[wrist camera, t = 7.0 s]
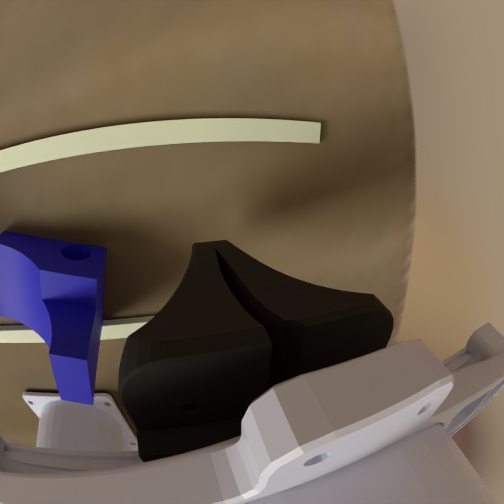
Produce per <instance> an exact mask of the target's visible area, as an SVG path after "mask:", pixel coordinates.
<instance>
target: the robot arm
mask: <svg viewBox="0 0 504 504" xmlns="http://www.w3.org/2000/svg"><path fill="white" fill-rule="evenodd" d="M392 330H393V316H392V314H391V312H390V311H389V310H388V309H387V308H386V307H385V306H384V305H383V304H382V303H381V302H380V301H379V300H378V298H377V297H376V296H375V295H373V294H366V293H357V292H348V291H341V290H336V289H331V288H326V287H322V286H318V285H314V284H311V283H308V282H304V281H301V280H298V279H296V278H293V277H290V276H288V275H286V274H283V273H281V272H278V271H276V270H274V269H272V268H270V267H268V266H267V265H265V264H263V263H261V262H259V261H258V260H256V259H254V258H253V257H251V256H249V255H248V254H246V253H245V252H243V251H242V250H240V249H239V248H237V247H236V246H234V245H233V244H231V243H230V242H228V241H227V240H221V241H211V242H202V243H194V244H193V246H192V255H191V259H190V262H189V265H188V268H187V270H186V273H185V275H184V277H183V279H182V281H181V283H180V285H179V286H178V288H177V290H176V291H175V293H174V294H173V296H172V297H171V298H170V300H169V301H168V302H167V304H166V305H165V306H164V307H163V308H162V309H161V310H160V311H159V312H158V313H157V314H156V315H155V316H154V317H153V318H152V319H151V320H150V321H148V322H147V323H146V324H144V325H143V326H142V327H140V328H139V329H138V330H136V331H135V332H133V333H132V334H130V335H129V336H128V337H127V340H126V343H125V346H124V350H123V354H122V358H121V362H120V368H119V385H118V395H119V398H120V401H121V404H122V405H123V407H124V409H125V411H126V412H127V414H128V416H129V418H130V419H131V421H132V423H133V424H134V426H135V428H136V430H137V438H136V437H135V435H134V433H133V432H132V430H131V429H130V427H129V425H128V424H127V422H126V421H125V419H124V417H123V416H122V414H121V412H120V410H119V409H118V407H117V405H116V403H115V402H114V400H113V398H112V396H111V395H109V394H107V393H94V404H93V405H88V404H82V403H76V402H70V401H64V400H61V398H60V395H59V393H39V392H24V393H23V399H24V400H25V401H26V402H27V404H28V405H29V406H30V407H31V409H32V410H33V411H34V412H35V413H36V415H37V416H38V417H39V418H40V421H39V427H38V435H37V443H36V447H35V446H28V445H22V444H16V443H11V442H6V441H4V439H3V438H2V437H1V436H0V504H497V502H496V501H495V499H494V498H493V496H492V495H491V493H490V492H489V490H488V489H487V487H486V486H485V484H484V483H483V481H482V480H481V479H480V477H479V476H478V474H477V473H476V471H475V470H474V469H473V467H472V466H471V464H470V463H469V462H468V460H467V459H466V457H465V456H464V455H463V453H462V452H461V450H460V449H459V448H458V446H457V445H456V443H455V442H454V441H453V439H452V438H451V436H452V435H454V434H455V433H456V432H457V431H458V430H460V429H461V428H462V427H463V426H464V425H465V424H467V423H468V422H469V421H470V420H471V419H472V418H473V417H474V416H475V415H476V414H478V413H479V412H480V411H481V410H482V409H483V408H484V407H485V406H486V405H487V404H488V403H489V402H490V401H491V400H492V399H493V398H494V397H495V396H496V395H497V394H498V392H499V391H500V390H501V389H502V388H503V386H504V336H503V335H501V334H500V333H499V332H498V331H497V330H496V329H495V328H494V327H493V326H492V325H491V324H490V323H487V324H485V325H484V326H482V327H480V328H479V329H478V330H476V331H475V332H474V333H473V334H472V336H471V337H470V339H469V340H468V342H467V344H466V347H465V348H464V349H462V350H460V351H459V352H457V353H456V354H454V355H452V356H451V357H449V358H447V359H446V360H444V361H442V362H441V361H440V360H439V359H438V358H437V357H436V356H435V355H434V354H433V352H432V351H431V350H430V349H429V348H428V347H427V346H426V345H425V344H424V343H423V342H422V341H421V340H420V339H416V340H409V341H402V342H399V343H396V344H394V345H391V346H389V347H386V346H387V344H388V341H389V339H390V337H391V333H392ZM132 450H138V451H132Z"/></svg>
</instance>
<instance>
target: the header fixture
mask: <svg viewBox="0 0 504 504" xmlns="http://www.w3.org/2000/svg"><path fill="white" fill-rule="evenodd" d="M320 129H321V123H317V122H308V121H295V120H280V119H257V118H201V119H179V120H163V121H151V122H141V123H131V124H123V125H115V126H108V127H101V128H95V129H89V130H83V131H77V132H72V133H67V134H62V135H57V136H53V137H48V138H44V139H40V140H35V141H31V142H28V143H24V144H20V145H16V146H13V147H9V148H6V149H3V150H0V172H4V171H7V170H11V169H15V168H19V167H23V166H27V165H31V164H36V163H40V162H45V161H50V160H55V159H60V158H65V157H70V156H76V155H82V154H88V153H94V152H101V151H108V150H116V149H124V148H132V147H142V146H152V145H163V144H177V143H194V142H219V141H278V142H303V143H319V142H320ZM153 317H154V316H145V317H135V318H124V319H113V320H103V325H102V331H101V338H100V340H103V339H117V338H127V337H128V336H129V335H130V334H132V333H133V332H135V331H136V330H138V329H139V328H140V327H142V326H143V325H144V324H146V323H147V322H148V321H150V320H151V319H152V318H153ZM38 342H45V341H44V340H43V339H42V338H41V337H40V336H39V335H38V334H37V333H36V332H35V331H34V330H32V329H31V328H29V327H28V326H26V325H7V326H0V343H38Z"/></svg>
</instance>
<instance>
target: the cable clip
mask: <svg viewBox="0 0 504 504" xmlns="http://www.w3.org/2000/svg"><path fill="white" fill-rule="evenodd" d="M106 249H107V248H103V247H97V246H90V245H84V244H78V243H71V242H65V241H59V240H53V239H47V238H41V237H35V236H29V235H23V234H17V233H11V232H6V231H3V232H2V233H1V234H0V316H3V317H8V318H11V319H14V320H16V321H18V322H21V323H22V324H24V325H26V326H28V327H29V328H31V329H32V330H34V331H35V332H36V333H37V334H38V335H39V336H40V337H41V338H42V339H43V340H44V341H45V342H46V343H47V345H48V346H49V348H50V351H49V356H50V361H51V365H52V369H53V373H54V377H55V381H56V384H57V388H58V391H59V395H60V398H61V400H64V401H70V402H76V403H82V404H88V405H93V404H94V390H95V379H96V369H97V360H98V352H99V345H100V338H101V331H102V325H103V305H104V277H105V261H106Z"/></svg>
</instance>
